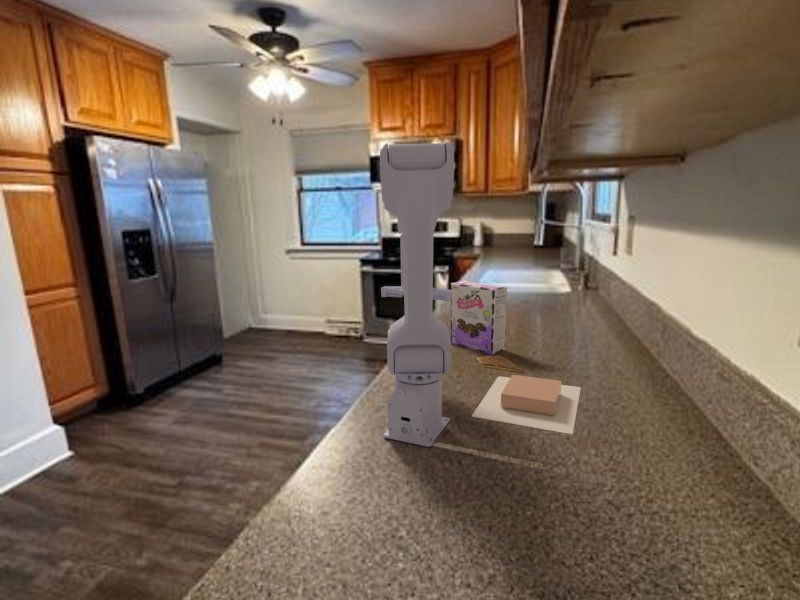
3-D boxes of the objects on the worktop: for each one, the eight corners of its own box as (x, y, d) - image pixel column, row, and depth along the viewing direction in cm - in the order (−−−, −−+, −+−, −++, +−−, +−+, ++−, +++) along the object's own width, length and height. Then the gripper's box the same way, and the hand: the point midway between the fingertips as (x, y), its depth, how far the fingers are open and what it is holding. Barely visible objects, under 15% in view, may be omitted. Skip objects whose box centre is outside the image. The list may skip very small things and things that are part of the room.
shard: (524, 377, 95) (524, 369, 95) (490, 381, 94) (490, 373, 93) (503, 361, 105) (503, 354, 105) (472, 364, 104) (472, 356, 104)
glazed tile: (500, 408, 79) (554, 416, 75) (501, 393, 78) (555, 402, 74) (512, 387, 87) (560, 394, 84) (512, 374, 87) (561, 381, 83)
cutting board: (572, 437, 69) (572, 434, 69) (471, 419, 76) (471, 416, 76) (580, 390, 87) (580, 387, 87) (498, 378, 94) (498, 376, 93)
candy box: (449, 343, 119) (449, 282, 115) (464, 339, 122) (464, 279, 119) (491, 355, 108) (493, 288, 105) (506, 350, 112) (508, 285, 109)
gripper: (457, 265, 88) (456, 331, 91) (391, 263, 95) (392, 325, 97) (445, 270, 82) (445, 341, 85) (375, 267, 88) (377, 333, 91)
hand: (416, 333), depth 91 cm, fingers closed
